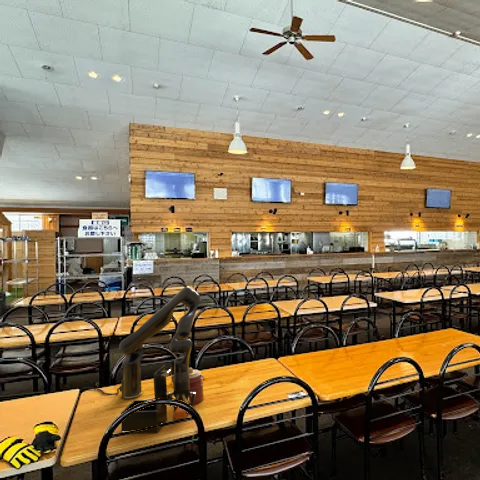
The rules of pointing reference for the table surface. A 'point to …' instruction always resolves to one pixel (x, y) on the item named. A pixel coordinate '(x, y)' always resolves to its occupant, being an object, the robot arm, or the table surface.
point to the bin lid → (160, 384)
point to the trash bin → (144, 418)
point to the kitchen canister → (196, 385)
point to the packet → (180, 413)
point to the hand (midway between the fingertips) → (182, 413)
